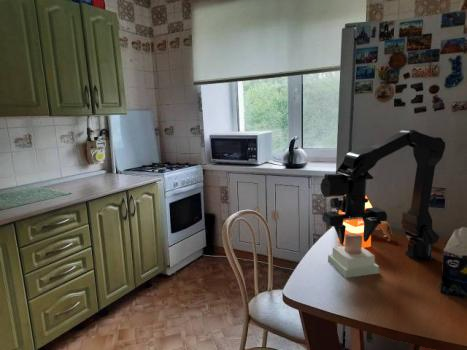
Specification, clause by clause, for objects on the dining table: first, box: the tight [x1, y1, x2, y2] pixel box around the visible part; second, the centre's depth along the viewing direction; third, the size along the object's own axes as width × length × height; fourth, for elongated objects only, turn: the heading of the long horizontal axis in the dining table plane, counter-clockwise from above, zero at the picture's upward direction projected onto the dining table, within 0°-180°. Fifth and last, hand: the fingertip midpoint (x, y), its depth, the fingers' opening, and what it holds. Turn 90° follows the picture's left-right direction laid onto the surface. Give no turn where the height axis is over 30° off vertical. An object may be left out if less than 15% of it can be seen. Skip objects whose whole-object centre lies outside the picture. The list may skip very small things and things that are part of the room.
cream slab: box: [332, 245, 376, 269], centre depth 105 cm, size 9×9×3 cm
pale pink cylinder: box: [344, 233, 362, 254], centre depth 104 cm, size 5×5×5 cm
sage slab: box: [327, 253, 380, 279], centre depth 106 cm, size 11×11×3 cm
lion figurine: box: [374, 221, 398, 242], centre depth 128 cm, size 15×5×9 cm, turn 53°
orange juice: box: [337, 194, 374, 249], centre depth 121 cm, size 8×9×20 cm
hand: (353, 242), depth 104 cm, fingers open, 8 cm apart
